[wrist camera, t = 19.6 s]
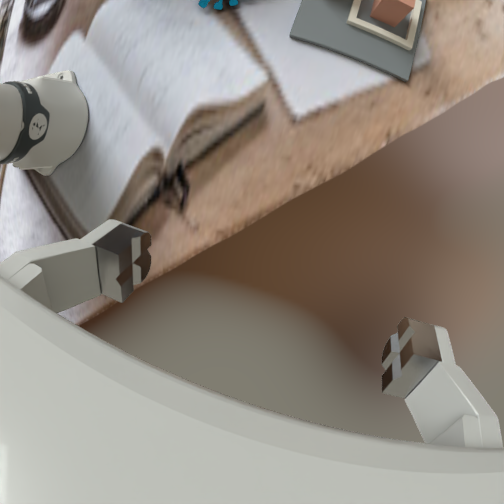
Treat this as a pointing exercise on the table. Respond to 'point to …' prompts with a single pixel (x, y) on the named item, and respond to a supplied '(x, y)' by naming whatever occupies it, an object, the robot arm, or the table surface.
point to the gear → (217, 3)
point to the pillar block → (391, 10)
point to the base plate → (361, 33)
